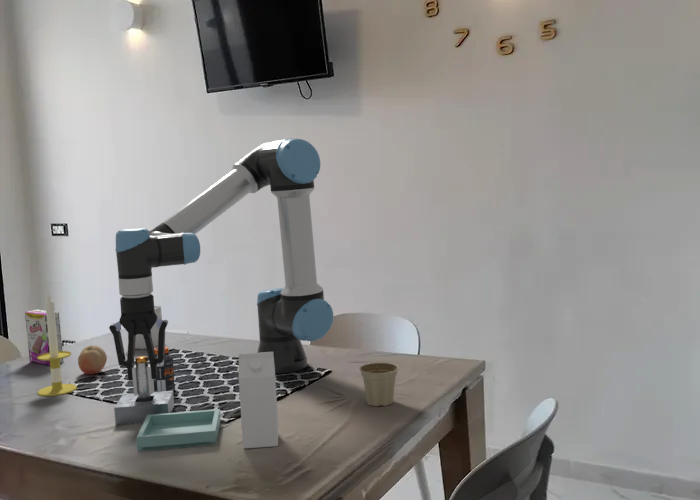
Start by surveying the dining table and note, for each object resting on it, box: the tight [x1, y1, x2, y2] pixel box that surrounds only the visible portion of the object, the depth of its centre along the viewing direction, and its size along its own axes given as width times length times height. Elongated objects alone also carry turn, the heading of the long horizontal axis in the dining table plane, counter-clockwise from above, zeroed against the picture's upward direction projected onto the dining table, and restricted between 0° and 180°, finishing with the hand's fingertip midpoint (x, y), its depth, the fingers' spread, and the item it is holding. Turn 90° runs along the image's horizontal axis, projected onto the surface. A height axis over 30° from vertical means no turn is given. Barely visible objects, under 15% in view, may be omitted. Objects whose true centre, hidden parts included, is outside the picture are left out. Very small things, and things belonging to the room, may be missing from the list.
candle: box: [37, 292, 78, 397], centre depth 189 cm, size 10×10×27 cm
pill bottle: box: [153, 346, 176, 392], centre depth 187 cm, size 6×6×11 cm
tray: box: [136, 408, 221, 452], centre depth 152 cm, size 16×14×3 cm
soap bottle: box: [127, 305, 163, 350], centre depth 237 cm, size 9×9×19 cm
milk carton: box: [238, 352, 280, 449], centre depth 146 cm, size 7×7×19 cm
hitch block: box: [113, 390, 175, 426], centre depth 167 cm, size 12×10×4 cm
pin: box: [134, 355, 151, 402], centre depth 166 cm, size 3×3×14 cm
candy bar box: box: [24, 309, 64, 366], centre depth 221 cm, size 11×5×16 cm, turn 58°
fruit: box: [77, 345, 108, 376], centre depth 206 cm, size 8×8×8 cm
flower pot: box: [358, 362, 400, 407], centre depth 168 cm, size 9×9×9 cm
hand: (144, 392), depth 166 cm, fingers closed on pin, 3 cm apart
